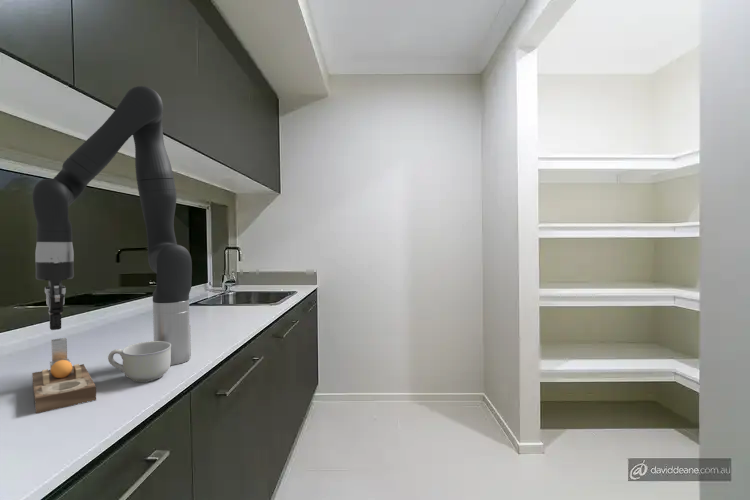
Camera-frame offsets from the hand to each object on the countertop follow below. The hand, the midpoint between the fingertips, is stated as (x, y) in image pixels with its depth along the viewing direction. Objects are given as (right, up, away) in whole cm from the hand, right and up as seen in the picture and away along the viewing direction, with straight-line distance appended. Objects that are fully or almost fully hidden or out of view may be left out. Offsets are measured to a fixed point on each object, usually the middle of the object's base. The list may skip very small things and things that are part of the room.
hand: (55, 329), depth 102 cm
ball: (+8, -8, -8) cm, 14 cm away
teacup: (+22, -12, 0) cm, 25 cm away
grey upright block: (+5, -9, -5) cm, 12 cm away
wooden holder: (+9, -13, -10) cm, 18 cm away
